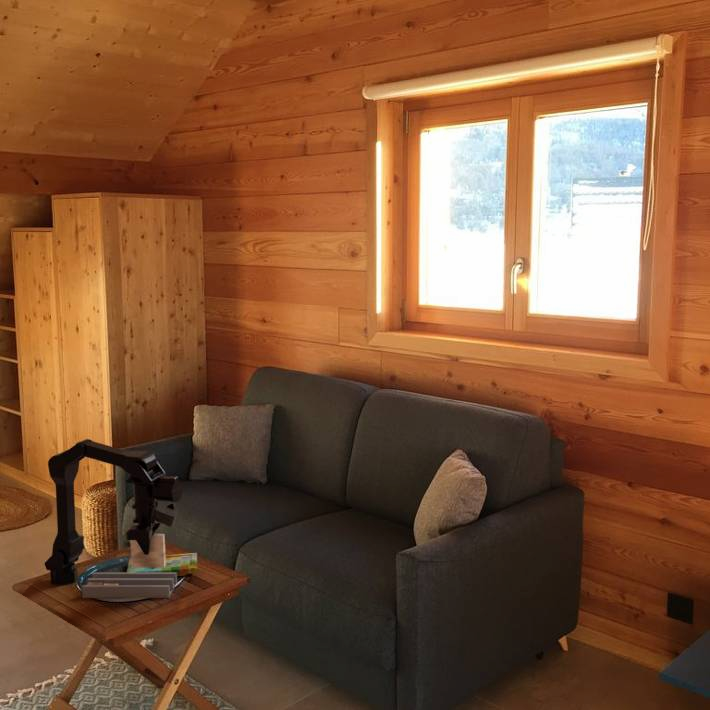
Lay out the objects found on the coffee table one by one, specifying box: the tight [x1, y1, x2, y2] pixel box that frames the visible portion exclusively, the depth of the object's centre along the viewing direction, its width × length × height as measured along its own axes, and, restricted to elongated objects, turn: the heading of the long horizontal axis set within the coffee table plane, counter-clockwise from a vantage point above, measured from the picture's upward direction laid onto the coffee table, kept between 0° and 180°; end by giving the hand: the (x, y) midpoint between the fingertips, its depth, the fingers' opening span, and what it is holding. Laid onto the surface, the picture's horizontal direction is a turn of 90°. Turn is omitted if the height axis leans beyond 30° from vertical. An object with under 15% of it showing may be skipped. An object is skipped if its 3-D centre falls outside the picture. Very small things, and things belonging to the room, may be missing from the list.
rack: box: [81, 571, 178, 599], centre depth 246 cm, size 24×10×4 cm, turn 89°
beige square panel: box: [129, 533, 167, 568], centre depth 243 cm, size 9×2×9 cm, turn 89°
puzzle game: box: [126, 552, 198, 577], centre depth 260 cm, size 12×5×20 cm
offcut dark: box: [86, 582, 103, 585], centre depth 245 cm, size 4×2×2 cm, turn 89°
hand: (147, 553), depth 243 cm, fingers closed on beige square panel, 2 cm apart
